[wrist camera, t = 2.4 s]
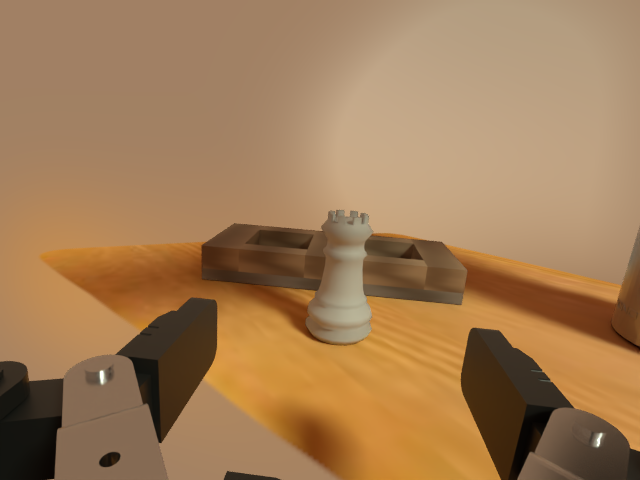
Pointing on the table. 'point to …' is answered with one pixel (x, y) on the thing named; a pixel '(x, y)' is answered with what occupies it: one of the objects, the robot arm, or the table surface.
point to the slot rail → (309, 259)
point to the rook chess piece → (342, 283)
